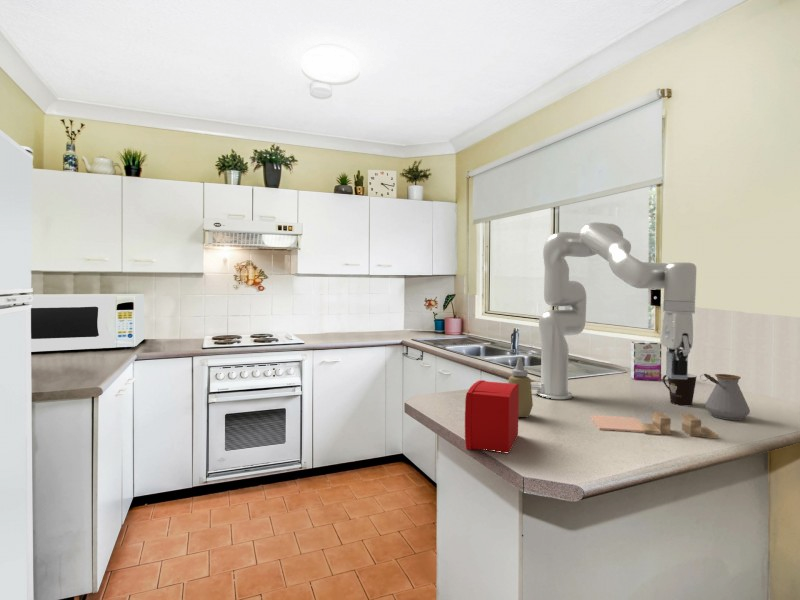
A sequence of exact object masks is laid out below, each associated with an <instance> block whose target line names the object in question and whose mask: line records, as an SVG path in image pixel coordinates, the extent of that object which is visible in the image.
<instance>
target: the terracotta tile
mask: <svg viewBox="0 0 800 600" xmlns="http://www.w3.org/2000/svg"><path fill="white" fill-rule="evenodd" d="M589 416H590V419H591V420H592V421H594V422H593V423H594V424H595V426H596V425H597V426H596V427H597V429H598V430H599V431H609V430H615V431H614V432H625V431H631V432H630V433H641V432H644V430H643V429H642V428H641V427H640V426H639V425H638V424H637V423H642V422H641V421H640V420H639V419H637V417H631V416H630V417H627V416H615V415H614V416H611V415H610V416H609V415H594V414H593V415H591V414H590V415H589Z"/></svg>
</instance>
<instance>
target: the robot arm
mask: <svg viewBox="0 0 800 600" xmlns="http://www.w3.org/2000/svg"><path fill="white" fill-rule="evenodd" d="M542 249H543V252H542V254H543V255H542V257H543V265H544V280H543V281H544V282H543V298H544V301H545V304H546V305H548V306H550V307H564V309H552V310H547V311H545V312H543V313H542V314H541V315H540V317H539V319H538V327H539V332H540V340H541V341H540V342H541V345H540V347H541V348H540V349H541V350H540V353H541V355H540V356H541V357H540V358H541V360H540V361H541V362H540V369H541V370H540V380H539V382H536V383H531V390H535V391H536V393H537V394H538V395H540V396H542V397H541V398H543V397H546V398H545V399H549V398H551V399H550V400H569V399H571V398H573V393H572V392H571V391H569V355H570V354H569V344H568V342H567V340H566V338H565V337H566V336H575V335H577V336H578V335H579V334H580V333H582V332H583V331H584V329H585V326H586V321H587V320H586V319H587V317H586V316H587V292H586V289H585V287H584V285H583V284H582V283H581V282H579V281H577V280H570V268H569V264H568V262H567V260H566V259H565V258H566V257H575V258H587V257H592V256H595V255H599V256H600V257H601V258H603V259H604V260H605V261H606V262H608V266H609V268H610V270H611V271H612V273H613V274H614V275H615V276H616V277H618V278H619V279H620V280H622V281H623V282H624V283H625V284H627V285H630V286H631V287H633V288H637V289H653V290H655V289H657V290H658V289H659V290H660V289H663V303H662V304H663V307H662V308H663V309H662V312H663V319H662V326H661V327H662V328H661V337H660V338H661V339H660V343H661V346H663V347H665V348H666V350H667V351H669V352H675V360H674V363H673V374H674V375H687V361H689V357H688V356H689V354H690V353H691V349H692V348H693V343H694V323H693V321H694V320H693V318H694V317H693V314H696V296H697V295H696V293H697V291H696V288H697V266H696V264H694V263H692V262H671V263H670V262H669V263H663V262H652V261H651V262H650V261H649V262H648V261H647V262H645V261H641V260H639V259H638V258H636V257H634V256H633V255H632V254H630V253H631V251H632V250H631V249H632V245H631V242H630V240H628V239H626V238H625V237H624V233H623V230H622V228H621V227H620V226H619V225H616V224H614V223H607V222H596V221H595V222H590V223H587V224H586V225H584V226H583V227H582V228H581V230H580V232H572V231H570V232H569V231H566V232H565V231H562V232H555V233H553V234H551V235H549V237H548V238H547V239H546V240H545V242H544V245H543V248H542ZM679 352H680V353H679ZM537 394H536V395H537ZM538 395H537V396H538ZM540 396H539V397H540Z"/></svg>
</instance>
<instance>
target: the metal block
mask: <svg viewBox="0 0 800 600" xmlns="http://www.w3.org/2000/svg"><path fill="white" fill-rule="evenodd" d="M680 352H681V351H680ZM680 352H679V353H680ZM665 355H666V360H665V362H666V363H665V364H666V365H665V370H666V371H665V375H666V376H667V377H666V378H668V377H669V378H671V379H688V374H689V372H688V369H689V368H688V365H689V364H688V363H689V362H688V361H689V360H688V361H687V375H674V374H673V363H674V360H675V352H669V351H666V353H665Z"/></svg>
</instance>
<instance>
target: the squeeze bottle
mask: <svg viewBox="0 0 800 600" xmlns="http://www.w3.org/2000/svg"><path fill="white" fill-rule="evenodd" d="M507 383H511V384H519V414H518V417H526V418H528V417H527V416H529V417H530V414H531V412H532V409H533V406H534V403H533V393H532V389H531V384H532V381H531V378H530V377H529V376H528V370H527V369H525V368H524V362H523V358H522V357H518V358H517V361H516V365H515V368H513V369H511V376H509V378H508V382H507Z"/></svg>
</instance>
